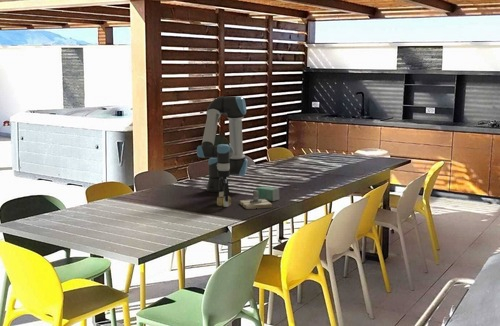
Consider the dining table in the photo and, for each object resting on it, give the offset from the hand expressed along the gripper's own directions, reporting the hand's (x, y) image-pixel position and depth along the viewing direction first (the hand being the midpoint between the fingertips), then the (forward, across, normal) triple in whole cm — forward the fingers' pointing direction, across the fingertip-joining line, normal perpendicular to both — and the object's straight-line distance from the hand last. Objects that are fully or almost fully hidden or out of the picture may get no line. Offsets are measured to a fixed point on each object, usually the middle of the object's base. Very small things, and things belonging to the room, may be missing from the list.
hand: (223, 204), depth 365 cm
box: (0, -8, +30) cm, 32 cm away
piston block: (0, +8, +18) cm, 20 cm away
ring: (0, 0, 0) cm, 0 cm away
